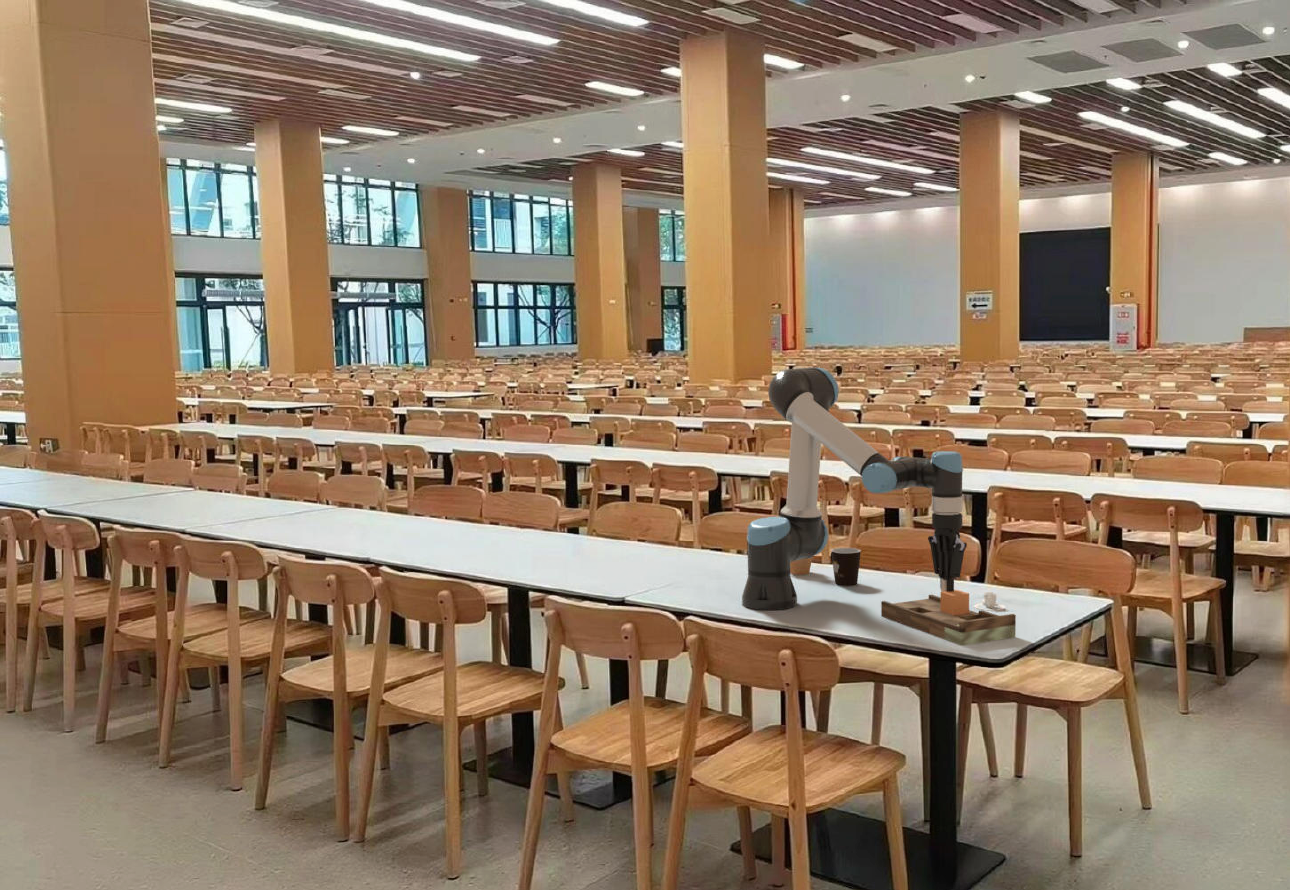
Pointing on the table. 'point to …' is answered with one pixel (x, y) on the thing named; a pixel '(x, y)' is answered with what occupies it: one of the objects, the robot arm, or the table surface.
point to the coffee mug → (845, 565)
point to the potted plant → (800, 566)
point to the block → (955, 602)
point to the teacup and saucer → (989, 602)
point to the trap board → (950, 621)
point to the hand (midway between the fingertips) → (947, 603)
